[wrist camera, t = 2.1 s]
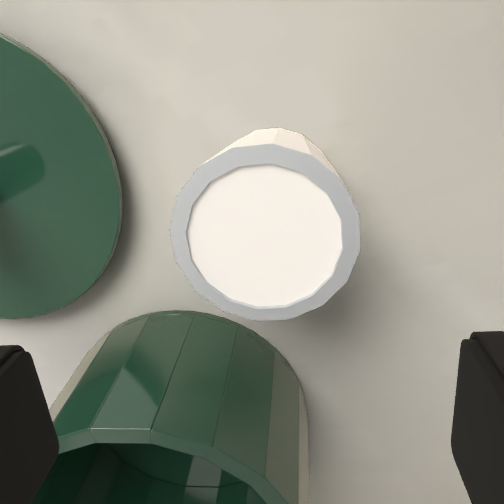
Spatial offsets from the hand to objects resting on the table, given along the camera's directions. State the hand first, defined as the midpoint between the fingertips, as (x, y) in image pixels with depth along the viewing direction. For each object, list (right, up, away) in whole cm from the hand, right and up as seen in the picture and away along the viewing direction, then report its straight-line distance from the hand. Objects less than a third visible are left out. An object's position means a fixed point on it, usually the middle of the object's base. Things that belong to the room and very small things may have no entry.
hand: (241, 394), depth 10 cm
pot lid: (-14, +6, +14) cm, 20 cm away
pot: (-4, -7, +19) cm, 21 cm away
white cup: (+1, +6, +13) cm, 15 cm away
